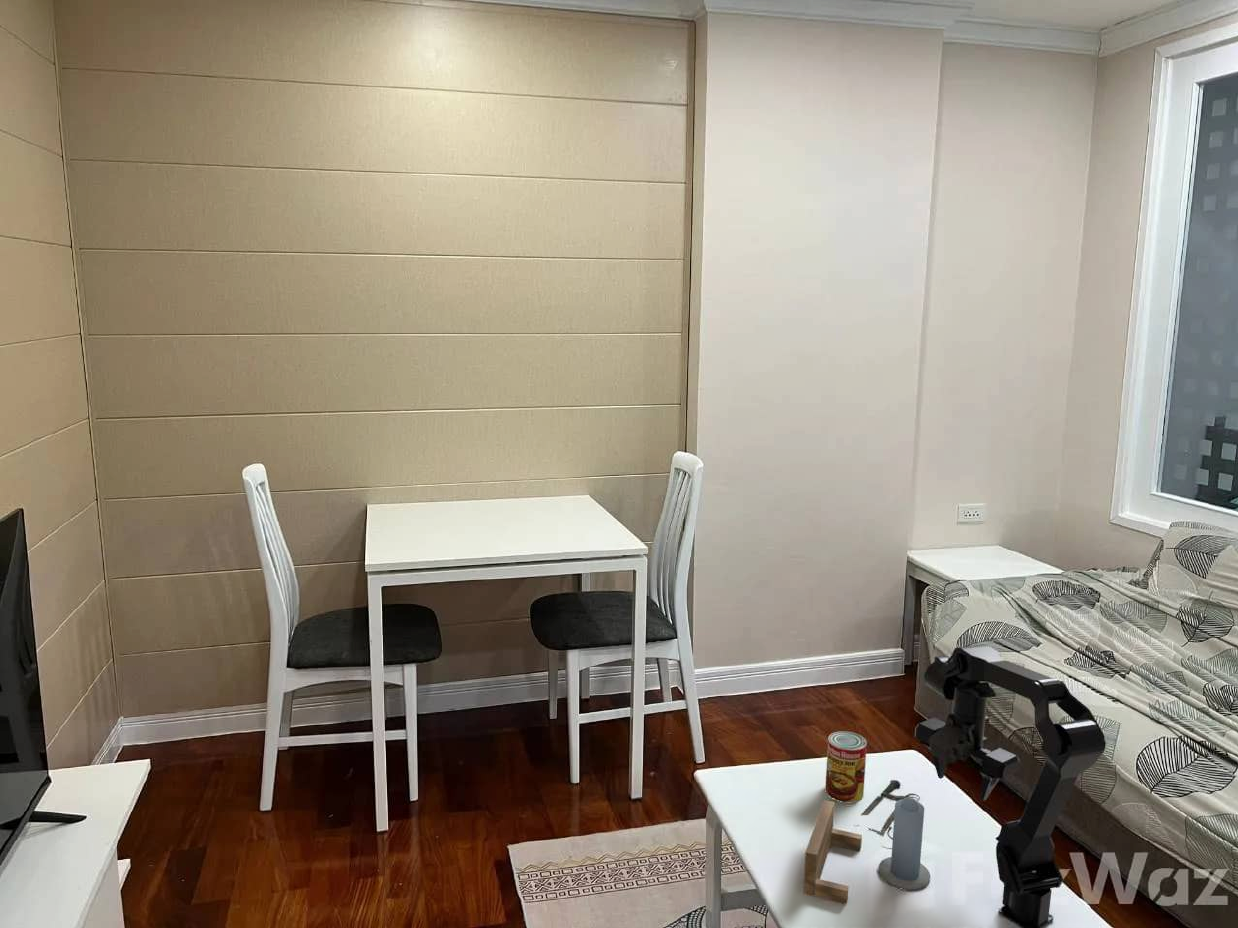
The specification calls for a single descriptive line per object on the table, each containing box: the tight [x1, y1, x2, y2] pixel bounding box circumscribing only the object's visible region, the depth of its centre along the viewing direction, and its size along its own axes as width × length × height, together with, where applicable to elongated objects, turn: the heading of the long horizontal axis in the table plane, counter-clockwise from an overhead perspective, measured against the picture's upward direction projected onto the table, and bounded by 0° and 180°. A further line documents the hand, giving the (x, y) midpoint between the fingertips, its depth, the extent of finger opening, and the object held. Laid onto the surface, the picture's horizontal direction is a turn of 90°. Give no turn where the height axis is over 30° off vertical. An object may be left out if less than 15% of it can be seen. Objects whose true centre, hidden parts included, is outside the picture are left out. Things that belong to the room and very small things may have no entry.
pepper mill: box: [890, 796, 925, 881], centre depth 167 cm, size 5×5×15 cm
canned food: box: [824, 730, 868, 803], centre depth 195 cm, size 8×8×12 cm
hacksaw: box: [853, 779, 920, 850], centre depth 188 cm, size 24×10×2 cm, turn 141°
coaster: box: [877, 856, 931, 891], centre depth 169 cm, size 9×9×1 cm
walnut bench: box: [802, 799, 863, 905], centre depth 170 cm, size 8×18×8 cm, turn 158°
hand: (961, 788), depth 174 cm, fingers open, 9 cm apart
